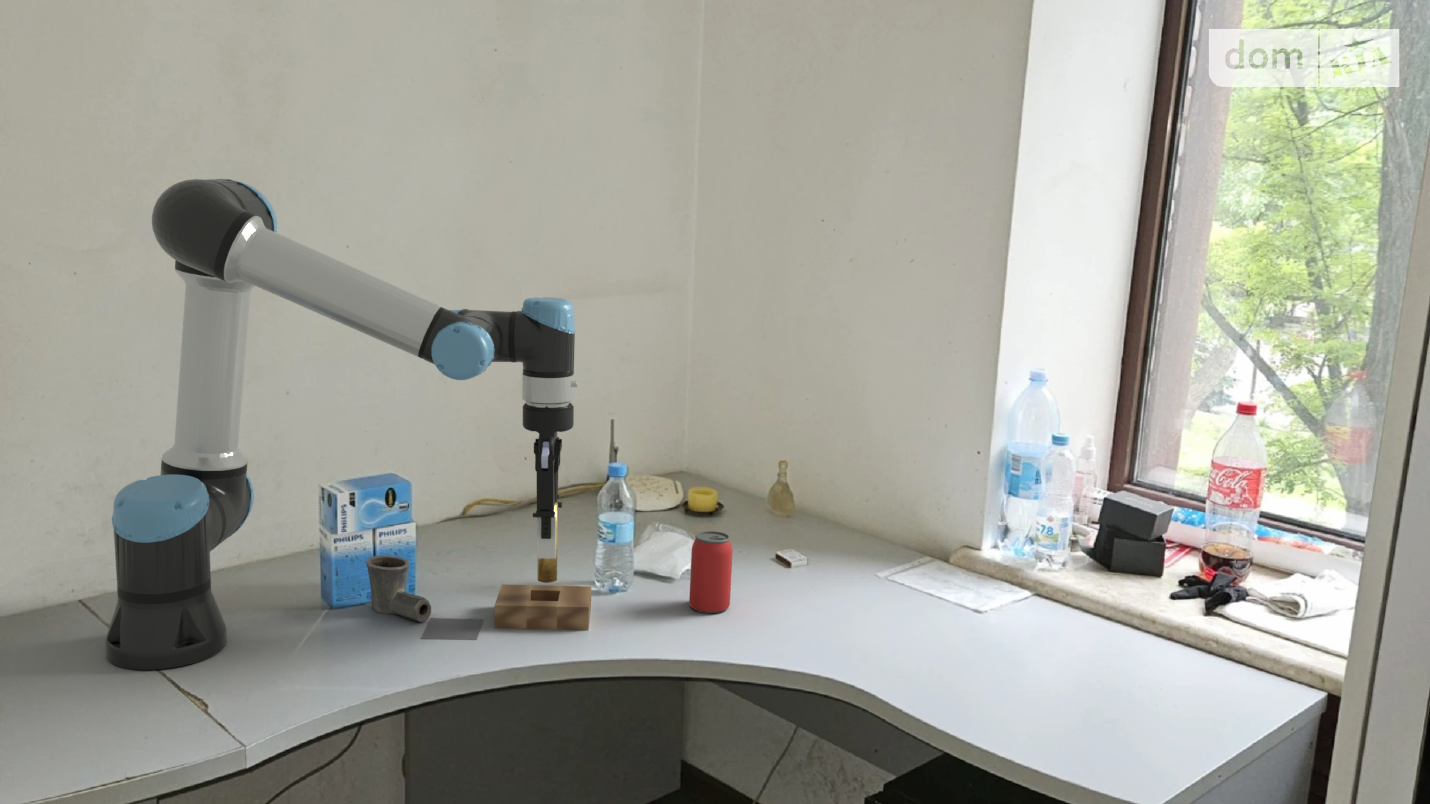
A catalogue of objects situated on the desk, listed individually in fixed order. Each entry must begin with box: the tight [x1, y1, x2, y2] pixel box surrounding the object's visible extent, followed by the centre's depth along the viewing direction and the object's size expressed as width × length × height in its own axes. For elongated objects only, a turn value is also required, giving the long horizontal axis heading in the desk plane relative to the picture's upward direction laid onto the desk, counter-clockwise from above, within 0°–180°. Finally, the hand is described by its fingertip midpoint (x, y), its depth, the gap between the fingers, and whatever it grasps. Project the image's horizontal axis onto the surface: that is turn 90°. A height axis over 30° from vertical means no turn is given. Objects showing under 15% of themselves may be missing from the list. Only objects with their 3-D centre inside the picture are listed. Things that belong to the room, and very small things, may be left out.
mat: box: [420, 617, 485, 641], centre depth 168 cm, size 8×8×1 cm
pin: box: [537, 501, 559, 584], centre depth 171 cm, size 3×3×12 cm
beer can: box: [688, 530, 734, 614], centre depth 181 cm, size 7×7×12 cm
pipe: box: [365, 555, 432, 623], centre depth 173 cm, size 6×13×8 cm, turn 53°
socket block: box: [493, 584, 592, 631], centre depth 173 cm, size 14×9×4 cm, turn 94°
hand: (547, 553), depth 172 cm, fingers closed on pin, 3 cm apart
